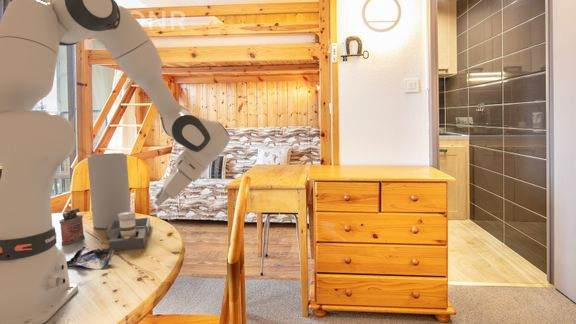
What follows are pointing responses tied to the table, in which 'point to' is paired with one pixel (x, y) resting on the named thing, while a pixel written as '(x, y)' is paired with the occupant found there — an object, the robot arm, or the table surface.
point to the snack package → (92, 257)
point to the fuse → (127, 224)
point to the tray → (139, 222)
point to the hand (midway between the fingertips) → (156, 201)
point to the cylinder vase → (108, 187)
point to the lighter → (71, 227)
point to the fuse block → (128, 241)
